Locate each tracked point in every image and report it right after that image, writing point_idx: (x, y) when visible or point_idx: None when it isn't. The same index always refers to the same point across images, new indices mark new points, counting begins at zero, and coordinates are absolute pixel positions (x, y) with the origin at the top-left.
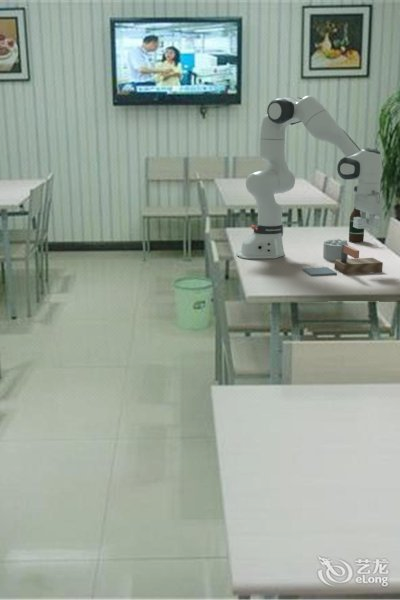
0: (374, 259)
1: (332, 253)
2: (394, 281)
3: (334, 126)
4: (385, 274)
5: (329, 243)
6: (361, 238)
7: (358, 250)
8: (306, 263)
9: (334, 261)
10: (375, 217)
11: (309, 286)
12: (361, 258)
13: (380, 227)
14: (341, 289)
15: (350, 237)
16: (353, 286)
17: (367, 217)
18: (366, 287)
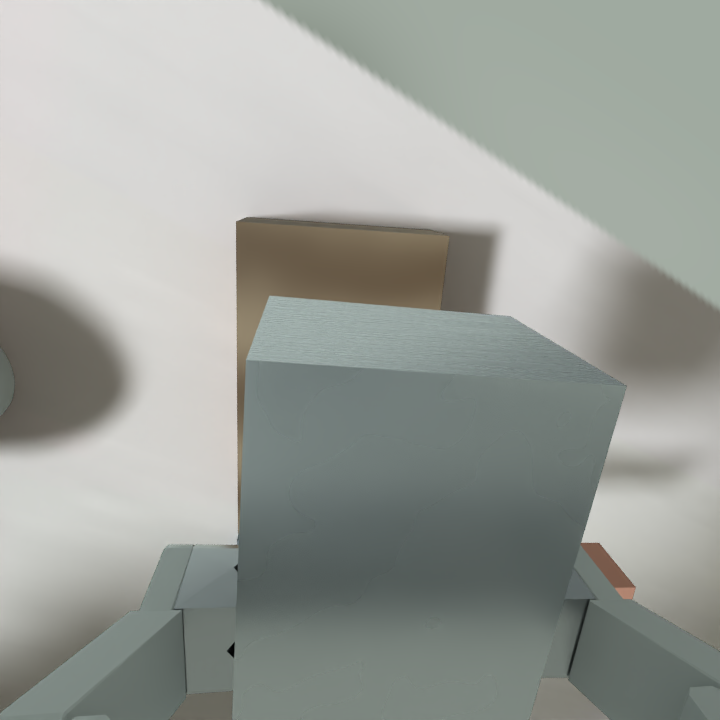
0: (312, 243)
1: None
2: (683, 285)
3: None
4: (501, 243)
5: None
6: None
7: (624, 589)
8: (46, 594)
9: (3, 412)
10: (429, 478)
11: (568, 703)
12: (244, 332)
13: (511, 323)
14: (680, 605)
15: None
16: (662, 540)
17: (362, 658)
18: (710, 491)
